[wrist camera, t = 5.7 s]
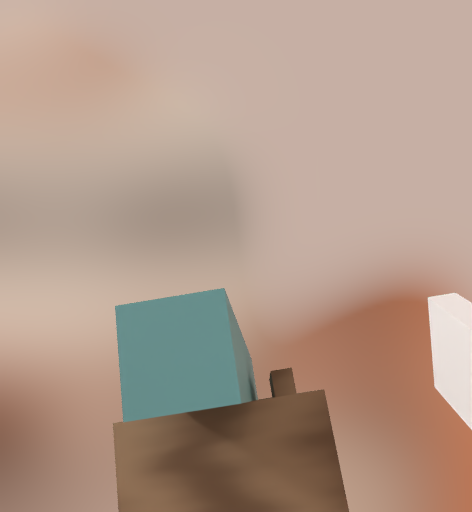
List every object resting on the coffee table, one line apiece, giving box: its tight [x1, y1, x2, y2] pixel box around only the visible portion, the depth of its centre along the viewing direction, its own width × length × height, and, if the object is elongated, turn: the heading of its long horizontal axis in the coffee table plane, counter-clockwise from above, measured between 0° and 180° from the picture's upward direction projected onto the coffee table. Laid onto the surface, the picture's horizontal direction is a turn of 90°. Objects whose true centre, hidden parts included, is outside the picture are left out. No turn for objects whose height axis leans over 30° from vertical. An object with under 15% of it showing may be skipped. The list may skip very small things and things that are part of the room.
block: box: [115, 288, 258, 422], centre depth 25 cm, size 3×25×3 cm, turn 176°
